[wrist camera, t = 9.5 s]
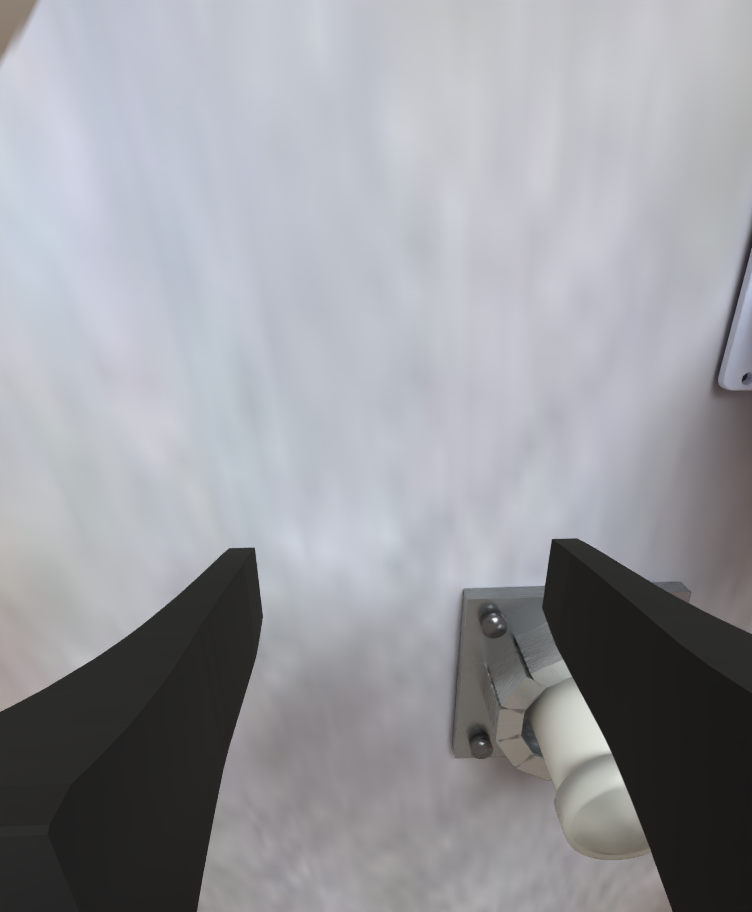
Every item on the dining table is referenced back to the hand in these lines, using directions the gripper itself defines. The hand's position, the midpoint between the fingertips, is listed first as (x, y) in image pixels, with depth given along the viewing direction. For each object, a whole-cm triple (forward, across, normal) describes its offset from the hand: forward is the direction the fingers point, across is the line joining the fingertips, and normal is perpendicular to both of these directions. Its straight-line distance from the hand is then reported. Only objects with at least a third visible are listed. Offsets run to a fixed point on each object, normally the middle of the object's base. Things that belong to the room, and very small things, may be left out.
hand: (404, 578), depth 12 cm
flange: (+10, -10, +14) cm, 19 cm away
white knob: (+9, -9, +13) cm, 19 cm away
